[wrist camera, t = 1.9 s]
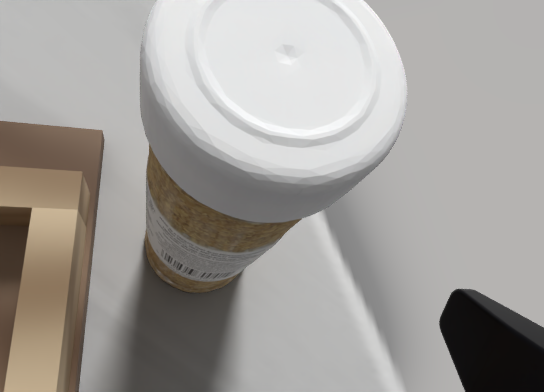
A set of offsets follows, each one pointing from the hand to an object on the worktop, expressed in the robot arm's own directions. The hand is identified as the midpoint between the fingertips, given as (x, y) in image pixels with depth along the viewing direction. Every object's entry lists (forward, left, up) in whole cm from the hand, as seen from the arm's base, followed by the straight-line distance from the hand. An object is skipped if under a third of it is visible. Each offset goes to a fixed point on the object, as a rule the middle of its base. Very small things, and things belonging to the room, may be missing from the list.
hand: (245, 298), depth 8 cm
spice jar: (+3, 0, -11) cm, 11 cm away
